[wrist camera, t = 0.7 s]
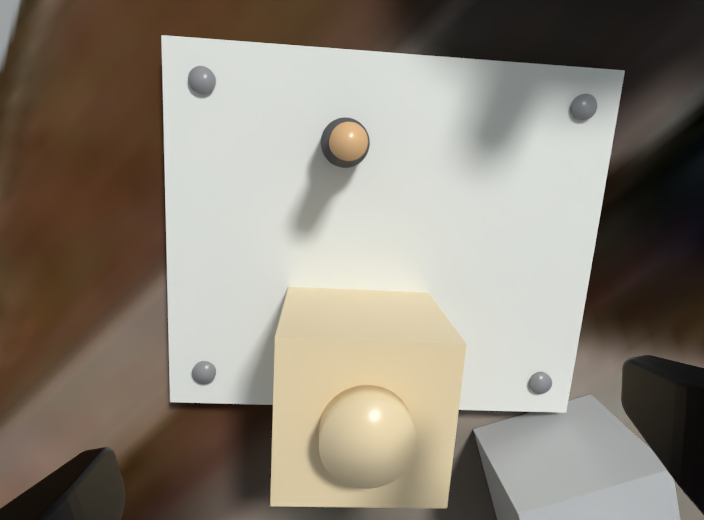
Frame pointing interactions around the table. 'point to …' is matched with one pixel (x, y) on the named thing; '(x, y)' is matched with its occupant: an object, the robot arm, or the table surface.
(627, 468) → the grey block
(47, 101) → the table surface
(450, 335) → the beige block
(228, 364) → the junction plate
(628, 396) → the robot arm
